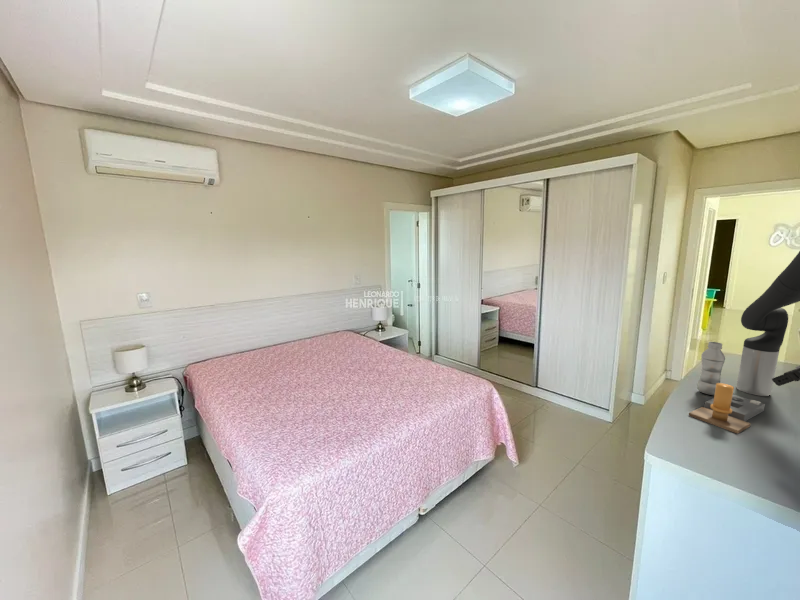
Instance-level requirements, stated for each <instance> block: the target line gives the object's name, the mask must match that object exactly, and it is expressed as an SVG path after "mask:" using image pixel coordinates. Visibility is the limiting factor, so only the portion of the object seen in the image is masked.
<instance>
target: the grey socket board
mask: <svg viewBox="0 0 800 600" xmlns="http://www.w3.org/2000/svg"><path fill="white" fill-rule="evenodd" d="M713 401H714V397H712V398H710V399H709V400H706V401H705V402H704V406H703V407H704V408H707V409H710V410H713V409H711V408H710V406H711V404H713ZM765 406H766V404H765V403H762V402H761V401H759V400H755V399H749V398H746V397H742V396H739V395H736V394H733V396H732V402H731V407H730V408H731V409H732V413H731V414H728V416H731V417H734V418H737V419H739V420H742V421H745V422H747V421H748V420H750V419H752V418H753V417H755V416H758V415H759V414H760V413H763V412H764V411H765Z"/></svg>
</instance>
